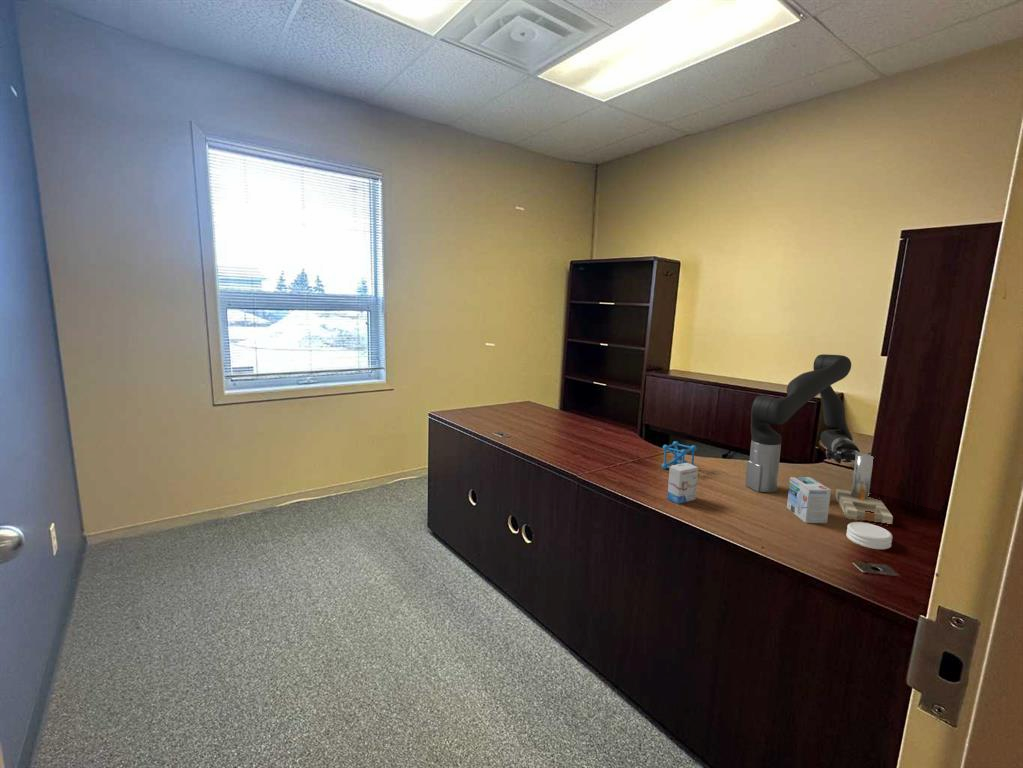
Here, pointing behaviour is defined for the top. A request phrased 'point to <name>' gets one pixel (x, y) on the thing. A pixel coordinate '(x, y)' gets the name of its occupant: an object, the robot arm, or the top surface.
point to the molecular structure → (677, 456)
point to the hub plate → (863, 508)
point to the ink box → (682, 483)
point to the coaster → (869, 535)
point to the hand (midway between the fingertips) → (854, 462)
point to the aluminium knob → (862, 476)
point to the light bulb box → (808, 499)
